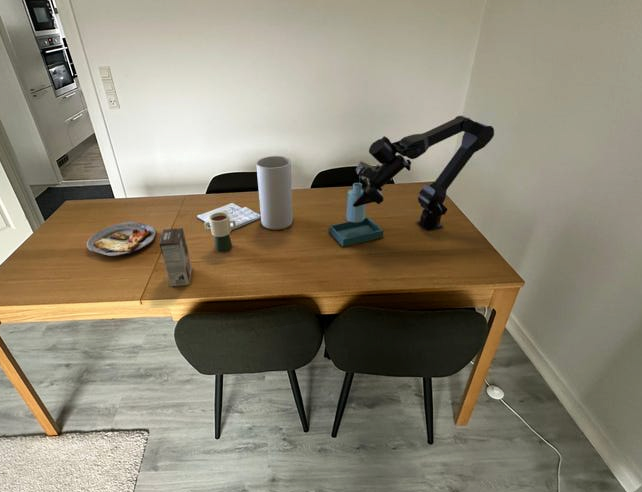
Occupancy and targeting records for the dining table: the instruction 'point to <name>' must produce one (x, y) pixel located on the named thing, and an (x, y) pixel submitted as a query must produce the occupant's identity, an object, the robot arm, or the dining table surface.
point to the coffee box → (176, 256)
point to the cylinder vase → (275, 192)
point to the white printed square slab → (234, 214)
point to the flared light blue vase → (353, 212)
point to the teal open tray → (355, 232)
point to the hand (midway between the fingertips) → (352, 201)
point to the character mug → (221, 230)
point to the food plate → (121, 238)
